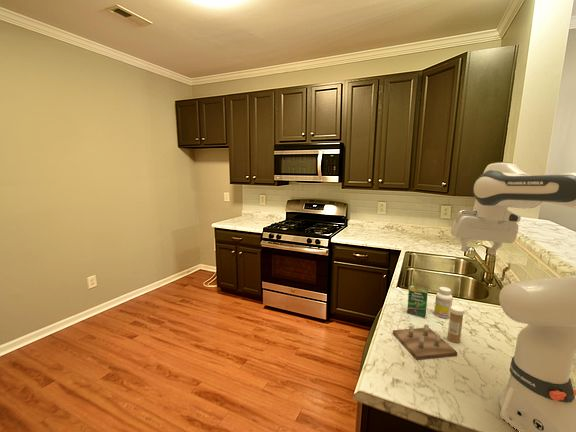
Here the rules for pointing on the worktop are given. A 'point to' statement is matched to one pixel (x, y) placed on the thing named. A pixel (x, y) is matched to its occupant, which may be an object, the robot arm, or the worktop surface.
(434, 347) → the pin board
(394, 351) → the worktop surface
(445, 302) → the supplement bottle
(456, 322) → the sprinkles bottle
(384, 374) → the worktop surface
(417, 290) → the coffee box
